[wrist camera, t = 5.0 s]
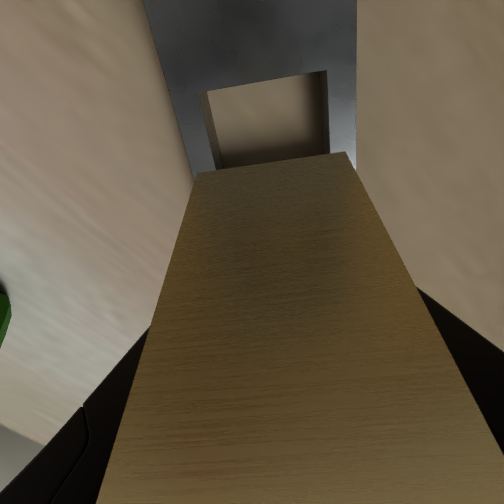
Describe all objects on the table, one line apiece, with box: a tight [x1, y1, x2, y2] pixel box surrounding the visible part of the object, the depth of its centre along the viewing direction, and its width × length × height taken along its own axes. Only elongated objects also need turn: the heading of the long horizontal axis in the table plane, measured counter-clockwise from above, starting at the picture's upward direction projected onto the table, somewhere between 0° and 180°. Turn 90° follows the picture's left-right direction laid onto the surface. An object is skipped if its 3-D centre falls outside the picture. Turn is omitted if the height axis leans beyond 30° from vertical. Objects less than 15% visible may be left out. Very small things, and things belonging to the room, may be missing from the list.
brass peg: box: [96, 151, 504, 504], centre depth 8 cm, size 4×4×8 cm
